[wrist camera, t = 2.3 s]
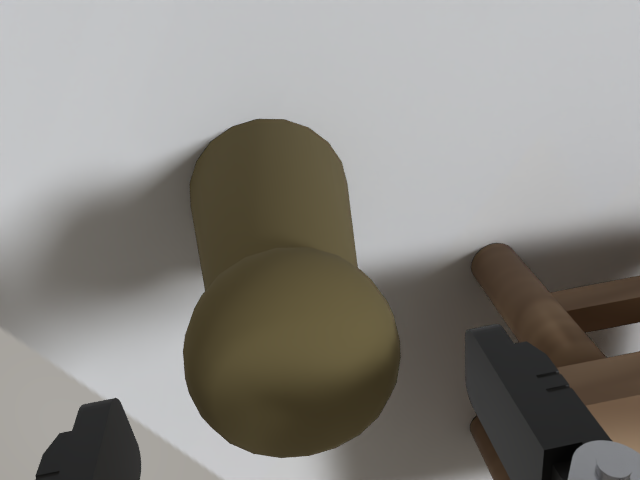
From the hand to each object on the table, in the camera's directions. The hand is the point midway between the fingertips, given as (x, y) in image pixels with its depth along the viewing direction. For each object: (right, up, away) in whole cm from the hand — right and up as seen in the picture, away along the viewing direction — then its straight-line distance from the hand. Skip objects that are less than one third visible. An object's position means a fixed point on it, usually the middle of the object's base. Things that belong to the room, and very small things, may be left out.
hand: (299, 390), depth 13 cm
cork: (-1, +5, +9) cm, 11 cm away
